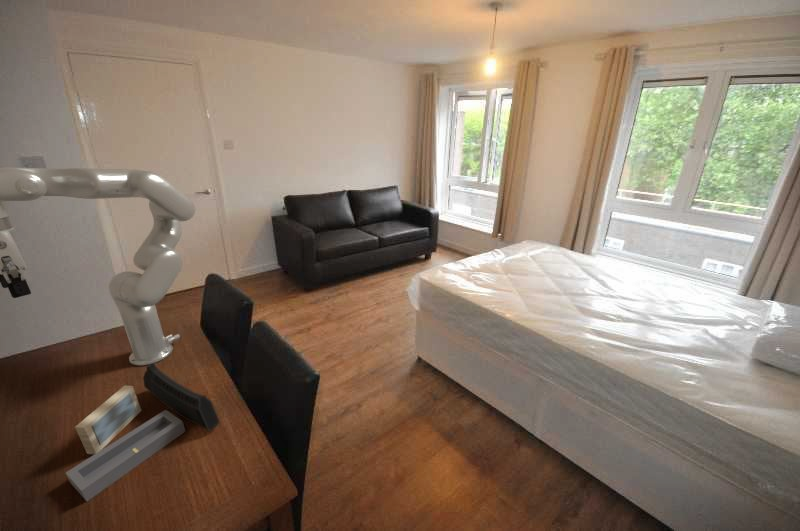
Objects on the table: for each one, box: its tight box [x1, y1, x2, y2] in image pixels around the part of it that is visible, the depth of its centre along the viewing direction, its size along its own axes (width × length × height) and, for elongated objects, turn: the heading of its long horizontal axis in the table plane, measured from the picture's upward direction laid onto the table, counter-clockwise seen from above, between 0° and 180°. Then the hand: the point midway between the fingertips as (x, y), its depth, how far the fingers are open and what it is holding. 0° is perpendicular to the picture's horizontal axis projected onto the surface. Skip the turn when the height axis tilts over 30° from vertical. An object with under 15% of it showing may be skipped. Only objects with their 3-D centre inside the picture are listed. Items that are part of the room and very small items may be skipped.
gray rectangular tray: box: [65, 409, 186, 502], centre depth 81 cm, size 21×8×4 cm, turn 151°
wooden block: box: [74, 385, 142, 455], centre depth 87 cm, size 14×3×9 cm, turn 176°
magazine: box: [142, 363, 220, 431], centre depth 93 cm, size 17×3×30 cm
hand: (17, 290), depth 85 cm, fingers open, 9 cm apart
